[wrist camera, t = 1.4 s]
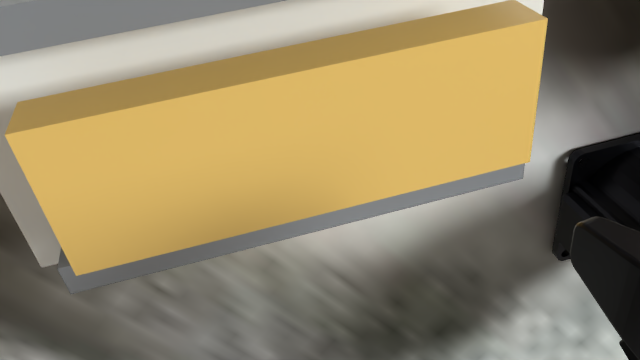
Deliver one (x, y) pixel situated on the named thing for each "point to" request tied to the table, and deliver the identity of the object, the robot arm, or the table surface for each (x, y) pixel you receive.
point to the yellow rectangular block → (280, 133)
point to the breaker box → (169, 54)
